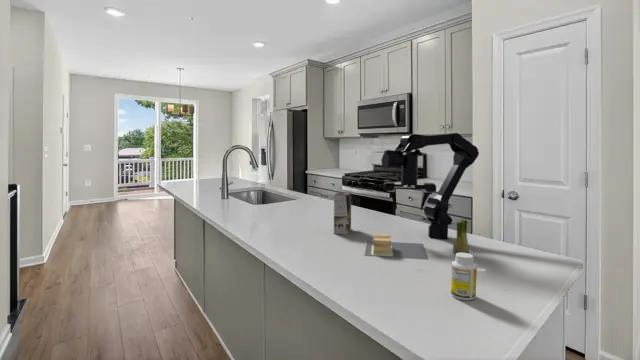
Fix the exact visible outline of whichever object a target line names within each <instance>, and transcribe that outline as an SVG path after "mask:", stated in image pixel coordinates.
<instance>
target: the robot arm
mask: <svg viewBox="0 0 640 360" xmlns="http://www.w3.org/2000/svg"><path fill="white" fill-rule="evenodd" d="M446 144H448V145H449V147H450V150H451V151H452V152H453V153H454V154H453V156H452V157H453V163H452V166H451V168H450V169H449V171H448V173H447V175H446V177H445V179H444V180H443V182H442V184H441V186H440V188H439V190H438V191H437V185H436V184H435V183H434V182H423V184H418V171H419V170H418V169H419V168H418V167H419V157H424V153H423V152H422V151H421V150H420V149H423V148H425V147H428V146H438V145H446ZM479 152H480V151H479V149H478V147H477V146H476V145H474V144H473V143H472V142H471V141H469V140H467V139H466V138H464V136H462V135H461V134H460V133H458V132H450V133H443V134H432V135H426V134H419V133H418V134H417V133H412V134H409V133H408V134H404V135H402V136H401V138H400V139H399V143H398V144H397V146H396V147H395V149H394V150H392V149H384V153H383V154H382V158H381V160H380V161H381V167H382V168H383V169H385V170H386V169H388V170H389V169H391V170H392V169H401V173H397V174H396V183H395V182H394V181H385V182H384V183H383V192H384V191H385V192H386V193H387V194H389V195H390V196H391V199H392V201H393V205H394V208H395V210H396V211H397V208H398V207H397V205H398V204H397V203H398V202H397V196H396V190H421V192H422V193H421V202H420V211H422V210H423V212H424V215H425V217H426V219H427V221H428V222H429V225H428V238H430V239H432V240H449V237H448V236H449V235H448V234H449V225H450V226H451V225H452V222H453V218H452V217H451V216H450V215H449V214H448V211H449V207H450V206H449V201H450V198H451V197H452V195H453V194H454V191H455V190H456V187H458V184H459V182H460V180H461V179H462V177H463V175H464V173H465V171H466V170H467V169H468V168H469V167H470V166H472V165H473V164H474V163H475V162H476V160H477V158H478V157H479V155H480V153H479ZM404 153H405V154H404ZM398 183H399V184H398ZM435 192H437V193H436V195H435V196H434V197H432V196H431V197H430V195H433V193H435Z"/></svg>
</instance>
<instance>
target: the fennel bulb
mask: <svg viewBox="0 0 640 360" xmlns="http://www.w3.org/2000/svg"><path fill="white" fill-rule="evenodd" d="M467 228H468V220H467V219H460V221H457V222H456V238H455V240H454V243H453V247H452V252H453V254H454V255H455V256H456V253H469V254H470V245H469V241H468V234H467V231H468V230H467Z"/></svg>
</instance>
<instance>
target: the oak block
mask: <svg viewBox="0 0 640 360" xmlns="http://www.w3.org/2000/svg"><path fill="white" fill-rule="evenodd" d="M391 236H392V235H391V234H390V233H374V235H373V241H374V252H373V254H388V255H391V242H392V237H391Z"/></svg>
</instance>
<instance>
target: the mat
mask: <svg viewBox="0 0 640 360" xmlns="http://www.w3.org/2000/svg"><path fill="white" fill-rule="evenodd" d="M373 252H374V240H372V241H371V240H367V241H366V245H365V251H364V255H363V256H364V257H376V258H380V257H381V258H394V259H395V258H396V259H397V258H398V259H412V260H414V259H415V260H429V257H428V253H427V251H426V249H425V246H424V243H419V242H417V243H415V242H401V241H400V242H398V241H397V242H395V241H394V242H393V241H391V255H388V254H373Z"/></svg>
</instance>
